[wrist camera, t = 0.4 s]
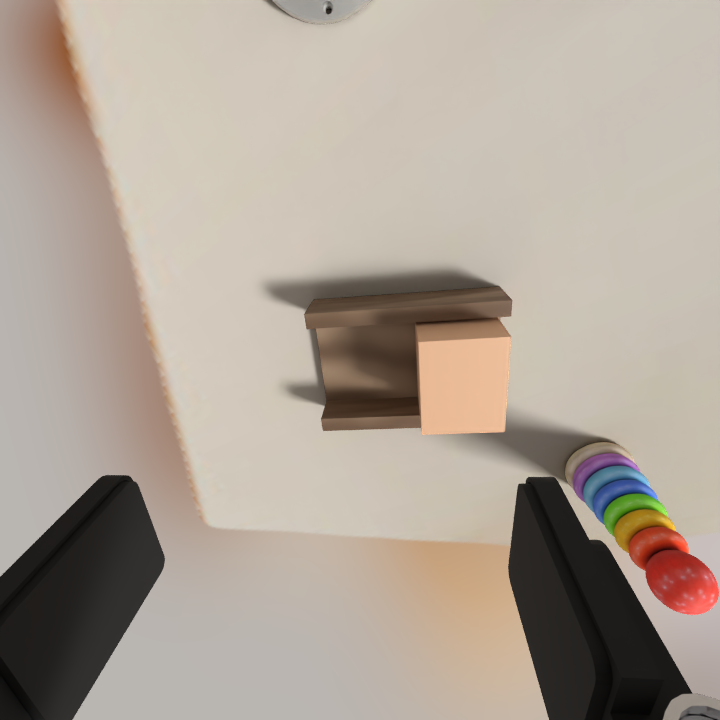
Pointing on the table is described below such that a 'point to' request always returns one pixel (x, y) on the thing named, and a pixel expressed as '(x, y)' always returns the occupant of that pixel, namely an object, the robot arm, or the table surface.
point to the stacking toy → (641, 526)
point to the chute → (384, 351)
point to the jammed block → (462, 375)
